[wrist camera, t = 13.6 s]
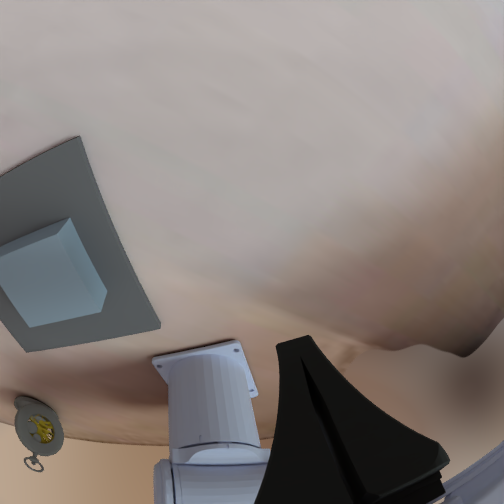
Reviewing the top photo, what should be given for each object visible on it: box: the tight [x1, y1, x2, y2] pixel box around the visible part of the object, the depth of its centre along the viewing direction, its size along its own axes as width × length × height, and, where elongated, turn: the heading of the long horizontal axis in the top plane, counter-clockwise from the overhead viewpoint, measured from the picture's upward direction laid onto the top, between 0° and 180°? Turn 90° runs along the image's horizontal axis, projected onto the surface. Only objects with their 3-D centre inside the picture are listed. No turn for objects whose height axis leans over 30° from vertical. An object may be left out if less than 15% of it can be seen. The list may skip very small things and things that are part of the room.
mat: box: [0, 136, 161, 353], centre depth 18 cm, size 15×15×1 cm
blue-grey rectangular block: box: [0, 217, 107, 327], centre depth 17 cm, size 6×2×7 cm
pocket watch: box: [14, 397, 64, 472], centre depth 23 cm, size 8×8×10 cm
